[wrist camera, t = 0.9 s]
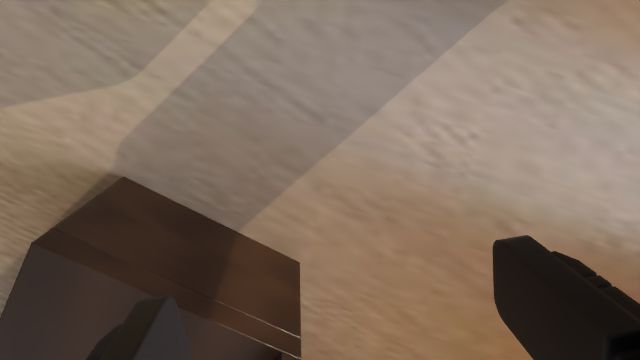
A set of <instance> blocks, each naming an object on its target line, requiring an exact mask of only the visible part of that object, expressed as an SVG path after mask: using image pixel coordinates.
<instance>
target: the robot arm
mask: <svg viewBox="0 0 640 360" xmlns="http://www.w3.org/2000/svg"><path fill="white" fill-rule="evenodd" d="M493 281H494V299H495V304H496V307H497V310H498V312H499V315H500V317H501V318H502V320H503V321H504V323H505V324H506V325H507V327H508V328H509V329H510V330H511V332H512V333H513V334H514V335H515V337H516V338H517V339H518V340H519V342H520V343H521V344H522V346H523V347H524V348H525V349H526V351H527V352H528V353H529V354H530V356H531V357H532V358H533V359H534V360H640V304H639V303H637V302H636V301H635V300H633V299H632V298H630V297H629V296H628V295H626V294H625V293H623V292H622V291H621V290H619V289H618V288H616V287H612V286H611V283H609V282H608V281H607V280H605V279H604V278H602V277H601V276H600V275H599V276H597V275H596V273H595V272H594V271H593V270H591V269H590V268H588V267H587V266H586V265H584V264H583V263H581V262H580V261H579V260H576V259H574V258H571V257H569V256H566V255H564V254H561V253H558V252H556V251H553V252H550V251H549V250H547V249H546V248H545V247H544V246H542V245H541V244H540V243H538V242H537V241H536V240H534V239H533V238H532V237H530V236H528V235H525V236H519V237H513V238H507V239H501V240H496V241H495V242H494V244H493ZM86 360H192V355H191V348H190V344H189V341H188V338H187V334H186V331H185V328H184V325H183V322H182V318H181V315H180V312H179V309H178V306H177V303H176V300H175V299H174V297H173V296H171V295H167V296H162V297H156V298H150V299H144V300H139V301H138V302H137V303H136V304H135V306H134V307H133V309H132V310H131V312H130V313H129V315H128V317H127V318H126V320H125V321H124V323H123V324H120V325H117V326H116V327H115V328H114V329H112V330H111V331H110V332H109V333H108V334H107V335H105V336H104V337H103V338H102V339H101V340H100V341H98V343H97V344H96V346H95V347H94V349H93V350H92V351H91V353H90V354H89V356H88V357H87V359H86Z"/></svg>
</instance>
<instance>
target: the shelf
mask: <svg viewBox="0 0 640 360" xmlns="http://www.w3.org/2000/svg"><path fill="white" fill-rule="evenodd" d="M167 295H171V296H173V297H174V299H175V300H176V303H177V306H178V309H179V312H180V315H181V318H182V322H183V325H184V328H185V331H186V334H187V338H188V341H189V344H190V348H191V355H192V360H301V312H300V263H299V262H297V261H295V260H293V259H291V258H289V257H287V256H285V255H283V254H281V253H279V252H277V251H275V250H272V249H270V248H268V247H266V246H264V245H262V244H260V243H258V242H256V241H254V240H252V239H250V238H248V237H246V236H244V235H242V234H240V233H238V232H236V231H234V230H232V229H230V228H228V227H225V226H223V225H221V224H219V223H217V222H215V221H213V220H211V219H209V218H207V217H205V216H203V215H201V214H199V213H197V212H195V211H193V210H191V209H189V208H187V207H185V206H183V205H180V204H178V203H176V202H174V201H172V200H170V199H168V198H166V197H164V196H162V195H160V194H158V193H156V192H154V191H152V190H150V189H148V188H146V187H144V186H142V185H140V184H138V183H136V182H133V181H131V180H129V179H127V178H125V177H122V178H121V179H120V180H118V181H117V182H115V183H114V184H113V185H111V186H110V187H109V188H107V189H106V190H104V191H103V192H102V193H100V194H99V195H97V196H96V197H95V198H93V199H92V200H91V201H89V202H88V203H86V204H85V205H84V206H82V207H81V208H79V209H78V210H77V211H75V212H74V213H73V214H71V215H70V216H68V217H67V218H66V219H64V220H63V221H61V222H60V223H59V224H57V225H56V226H55V227H53V228H52V229H50V230H49V231H48V232H46V233H45V234H44V235H42V236H41V237H39V238H38V239H37V240H35V241H34V242H32V243H31V246H30V248H29V250H28V253H27V255H26V258H25V260H24V262H23V265H22V267H21V269H20V272H19V274H18V276H17V279H16V281H15V284H14V286H13V288H12V291H11V293H10V295H9V298H8V300H7V303H6V305H5V307H4V310H3V312H2V314H1V317H0V360H86V359H87V357H88V356H89V354H90V353H91V351H92V350H93V349H94V347H95V346H96V344H97V343H98V341H100V340H101V339H102V338H103V337H104V336H105V335H107V334H108V333H109V332H110V331H111V330H112V329H114V328H115V327H116V326H117V325H120V324H123V323H124V321H125V320H126V318H127V317H128V315H129V313H130V312H131V310H132V309H133V307H134V306H135V304H136V303H137V302H138V301H139V300H144V299H150V298H156V297H162V296H167Z"/></svg>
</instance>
